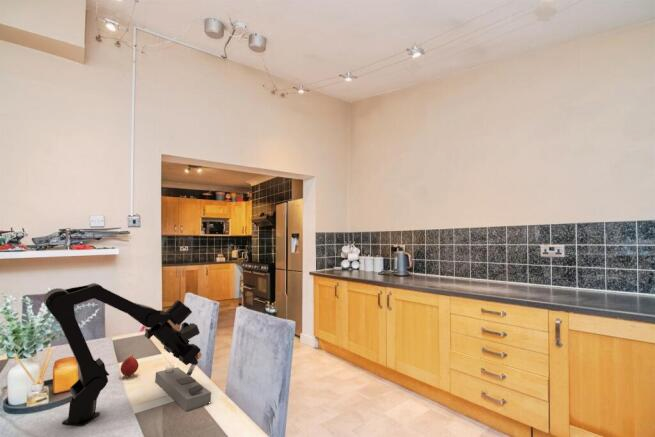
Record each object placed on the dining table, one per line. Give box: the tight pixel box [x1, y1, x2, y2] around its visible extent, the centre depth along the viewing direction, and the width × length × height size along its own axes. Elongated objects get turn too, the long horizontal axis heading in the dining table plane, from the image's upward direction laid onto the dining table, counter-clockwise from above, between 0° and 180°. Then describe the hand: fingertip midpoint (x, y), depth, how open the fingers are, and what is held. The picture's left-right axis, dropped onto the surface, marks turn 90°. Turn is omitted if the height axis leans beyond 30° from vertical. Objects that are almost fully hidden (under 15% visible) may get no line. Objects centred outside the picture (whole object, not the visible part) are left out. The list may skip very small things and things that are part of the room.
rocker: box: [189, 383, 204, 395], centre depth 107 cm, size 4×2×1 cm, turn 136°
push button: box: [164, 364, 175, 373], centre depth 123 cm, size 3×3×2 cm
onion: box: [120, 354, 139, 378], centre depth 125 cm, size 6×6×8 cm
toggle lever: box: [186, 351, 202, 377], centre depth 118 cm, size 2×2×8 cm
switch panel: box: [154, 366, 212, 412], centre depth 115 cm, size 8×28×4 cm, turn 46°
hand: (195, 362), depth 118 cm, fingers closed on toggle lever, 2 cm apart
